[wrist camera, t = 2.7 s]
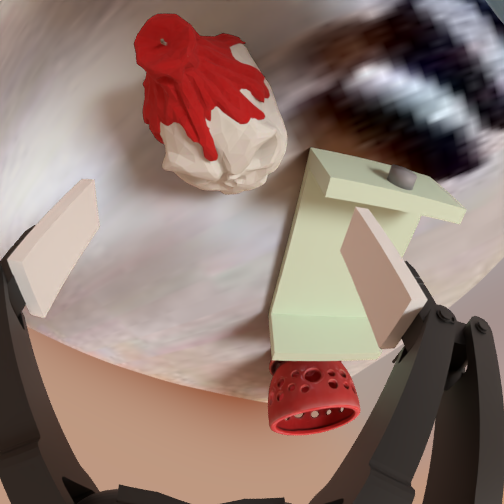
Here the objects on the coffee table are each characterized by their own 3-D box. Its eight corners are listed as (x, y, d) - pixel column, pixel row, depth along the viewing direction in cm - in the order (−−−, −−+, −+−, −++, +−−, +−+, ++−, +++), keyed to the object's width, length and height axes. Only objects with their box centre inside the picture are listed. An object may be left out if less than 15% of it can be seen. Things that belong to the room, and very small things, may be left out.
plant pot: (248, 365, 46) (250, 432, 37) (302, 321, 40) (315, 399, 30) (307, 382, 51) (316, 440, 41) (361, 346, 45) (379, 410, 35)
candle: (200, 208, 26) (78, 169, 12) (182, 103, 27) (89, 19, 12) (300, 182, 24) (270, 91, 10) (269, 74, 25) (221, -44, 10)
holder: (313, 135, 25) (335, 161, 19) (433, 166, 27) (471, 198, 21) (266, 320, 39) (269, 365, 34) (359, 324, 41) (372, 364, 35)
